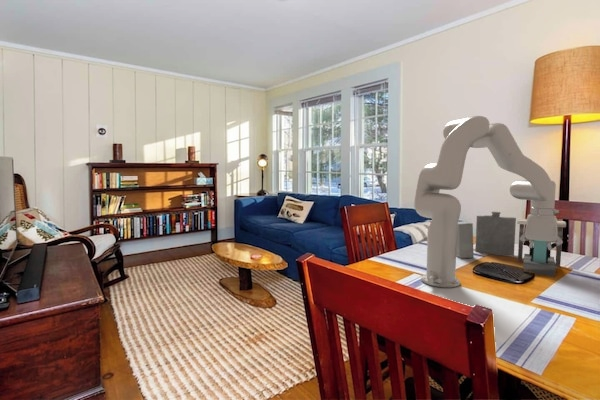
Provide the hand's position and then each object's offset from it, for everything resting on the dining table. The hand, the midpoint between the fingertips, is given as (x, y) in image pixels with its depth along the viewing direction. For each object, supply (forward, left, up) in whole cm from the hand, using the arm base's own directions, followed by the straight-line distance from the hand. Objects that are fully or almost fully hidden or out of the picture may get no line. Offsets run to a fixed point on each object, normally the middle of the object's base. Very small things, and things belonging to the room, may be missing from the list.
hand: (539, 258), depth 133 cm
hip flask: (+21, +17, -5) cm, 28 cm away
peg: (0, 0, -3) cm, 3 cm away
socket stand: (+3, 0, -5) cm, 6 cm away
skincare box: (+8, +29, -5) cm, 31 cm away
